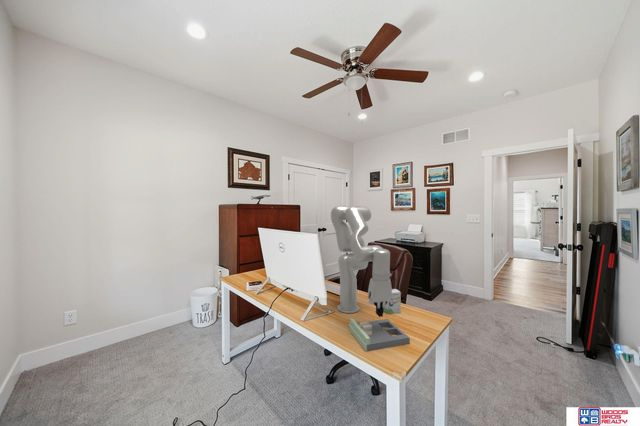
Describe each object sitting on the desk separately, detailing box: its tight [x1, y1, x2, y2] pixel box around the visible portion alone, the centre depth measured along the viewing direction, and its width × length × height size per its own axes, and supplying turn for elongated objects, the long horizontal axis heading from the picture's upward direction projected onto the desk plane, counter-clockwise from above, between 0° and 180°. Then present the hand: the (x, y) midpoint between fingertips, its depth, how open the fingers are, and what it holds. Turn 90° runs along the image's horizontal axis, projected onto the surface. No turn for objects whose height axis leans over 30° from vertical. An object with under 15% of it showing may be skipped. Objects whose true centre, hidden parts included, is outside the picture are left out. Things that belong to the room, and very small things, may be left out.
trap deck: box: [348, 318, 411, 352], centre depth 107 cm, size 18×21×5 cm
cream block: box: [359, 321, 372, 336], centre depth 104 cm, size 4×4×4 cm
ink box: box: [383, 288, 402, 315], centre depth 132 cm, size 9×5×12 cm, turn 101°
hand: (379, 315), depth 108 cm, fingers closed
